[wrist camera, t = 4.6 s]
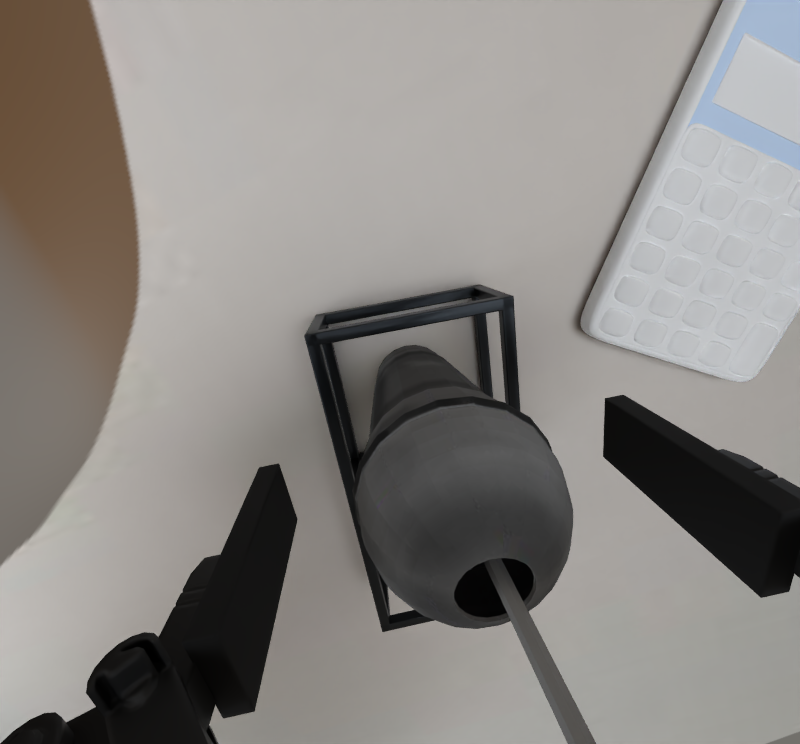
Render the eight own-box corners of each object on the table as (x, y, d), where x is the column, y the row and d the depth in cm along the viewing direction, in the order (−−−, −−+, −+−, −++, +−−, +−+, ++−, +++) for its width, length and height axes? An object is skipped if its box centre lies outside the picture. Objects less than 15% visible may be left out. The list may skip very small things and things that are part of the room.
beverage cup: (407, 298, 22) (682, 615, 3) (490, 371, 24) (942, 814, 5) (331, 387, 23) (224, 968, 5) (416, 448, 26) (576, 1019, 7)
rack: (378, 567, 29) (382, 632, 24) (315, 314, 22) (303, 335, 17) (503, 540, 29) (531, 598, 24) (480, 284, 22) (513, 295, 18)
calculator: (569, 330, 24) (586, 337, 22) (742, -56, 18) (784, -88, 16) (730, 379, 26) (757, 390, 25) (926, 56, 21) (979, 38, 19)
